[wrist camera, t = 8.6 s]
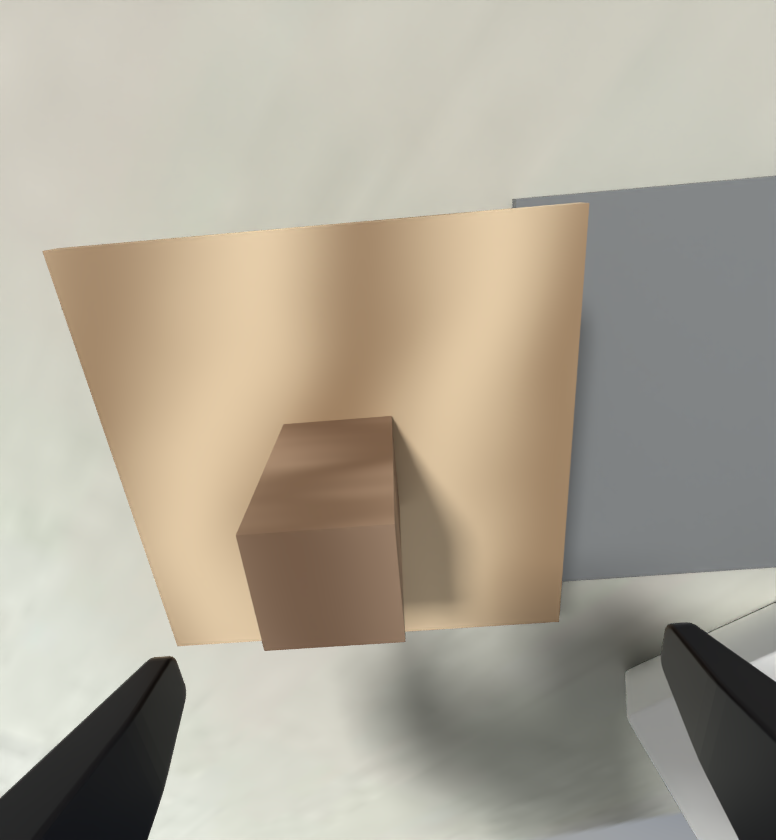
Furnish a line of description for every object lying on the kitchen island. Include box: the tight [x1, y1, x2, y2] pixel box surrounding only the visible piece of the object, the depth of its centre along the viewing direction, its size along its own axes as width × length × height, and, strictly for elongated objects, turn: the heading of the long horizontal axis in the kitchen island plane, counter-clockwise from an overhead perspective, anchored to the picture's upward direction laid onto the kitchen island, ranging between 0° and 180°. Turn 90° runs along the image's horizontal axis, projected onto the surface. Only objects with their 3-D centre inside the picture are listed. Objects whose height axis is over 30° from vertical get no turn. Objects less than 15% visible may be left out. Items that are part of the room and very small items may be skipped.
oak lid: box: [43, 202, 589, 651], centre depth 13 cm, size 13×13×6 cm
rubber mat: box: [513, 176, 776, 581], centre depth 20 cm, size 16×16×1 cm
